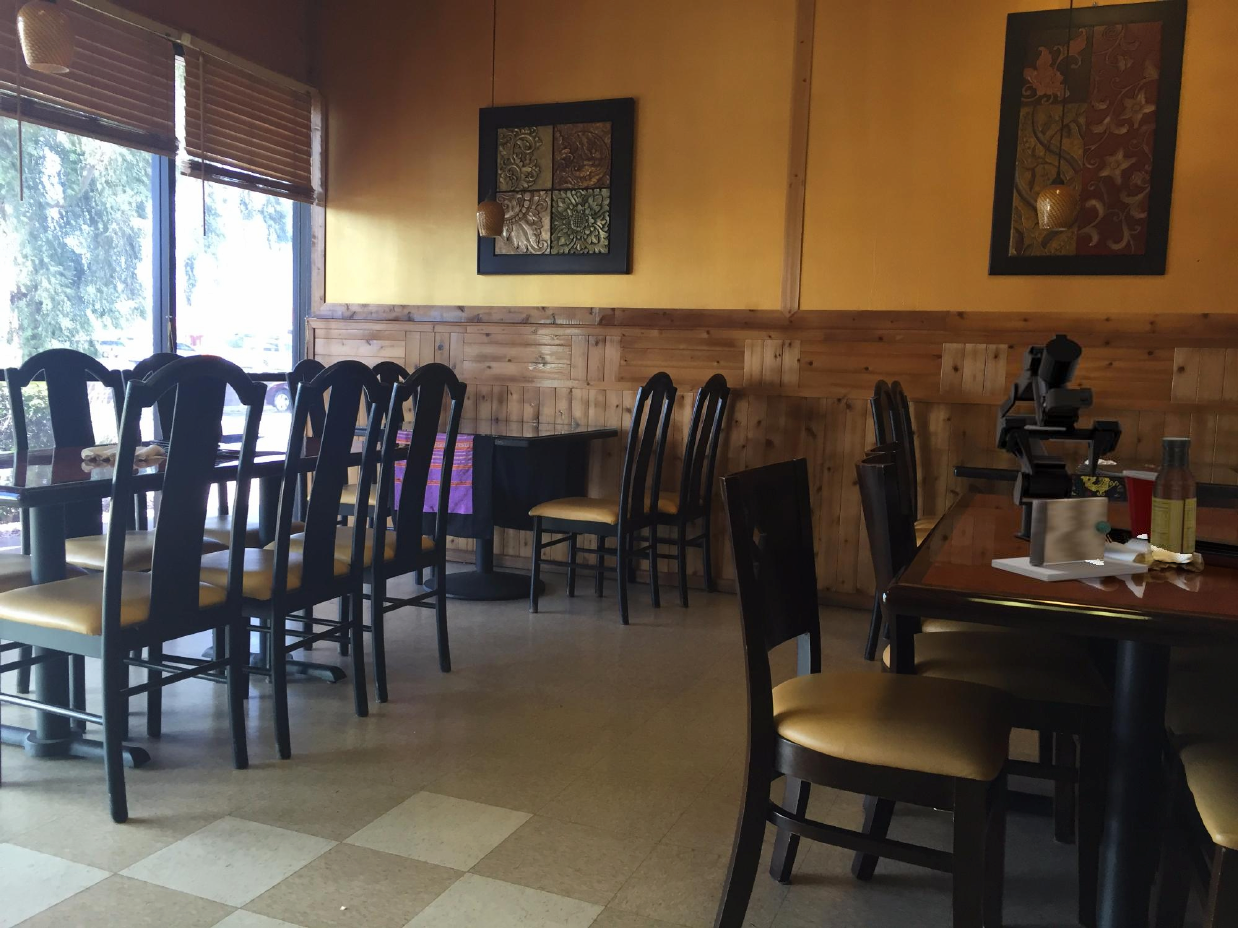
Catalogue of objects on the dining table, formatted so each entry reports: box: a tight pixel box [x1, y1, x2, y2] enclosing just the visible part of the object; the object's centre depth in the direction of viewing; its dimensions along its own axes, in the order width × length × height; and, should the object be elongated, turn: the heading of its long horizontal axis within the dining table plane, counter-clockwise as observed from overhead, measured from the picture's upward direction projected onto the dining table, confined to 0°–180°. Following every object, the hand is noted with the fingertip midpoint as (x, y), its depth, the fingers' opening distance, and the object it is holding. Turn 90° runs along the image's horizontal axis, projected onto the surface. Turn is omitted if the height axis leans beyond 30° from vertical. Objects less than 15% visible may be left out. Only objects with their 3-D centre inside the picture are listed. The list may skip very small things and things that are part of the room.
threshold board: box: [991, 555, 1149, 582], centre depth 150 cm, size 20×11×1 cm, turn 112°
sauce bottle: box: [1150, 437, 1197, 555], centre depth 157 cm, size 7×6×20 cm
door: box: [1029, 497, 1112, 565], centre depth 149 cm, size 14×4×10 cm, turn 112°
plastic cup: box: [1122, 470, 1158, 541], centre depth 179 cm, size 11×11×12 cm
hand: (1063, 474), depth 160 cm, fingers open, 9 cm apart
